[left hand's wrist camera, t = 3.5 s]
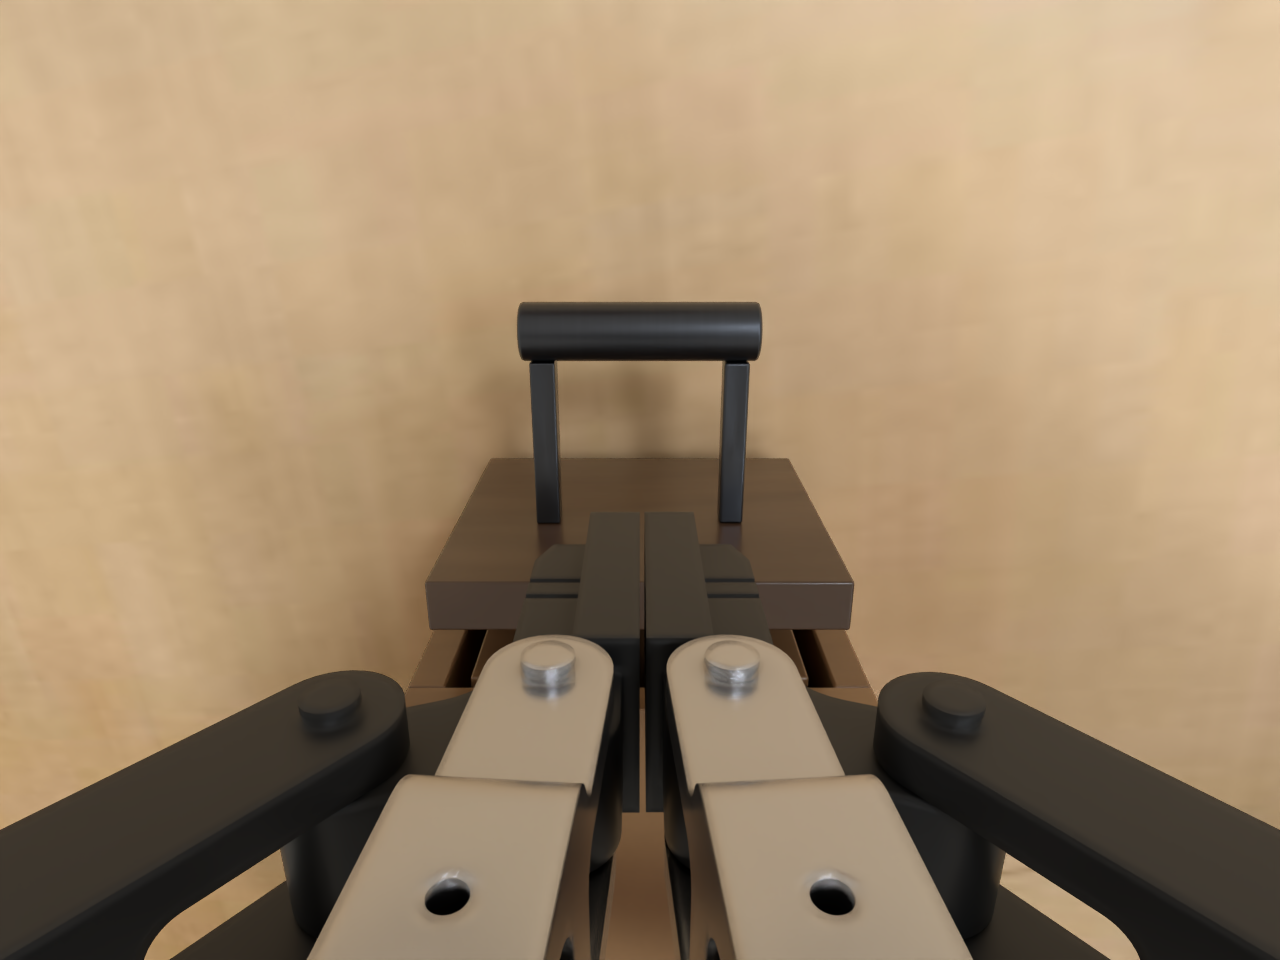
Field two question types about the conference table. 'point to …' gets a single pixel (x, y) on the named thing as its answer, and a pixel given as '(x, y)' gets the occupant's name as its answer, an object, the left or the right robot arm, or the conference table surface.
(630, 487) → the drawer
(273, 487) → the conference table surface
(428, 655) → the cabinet
